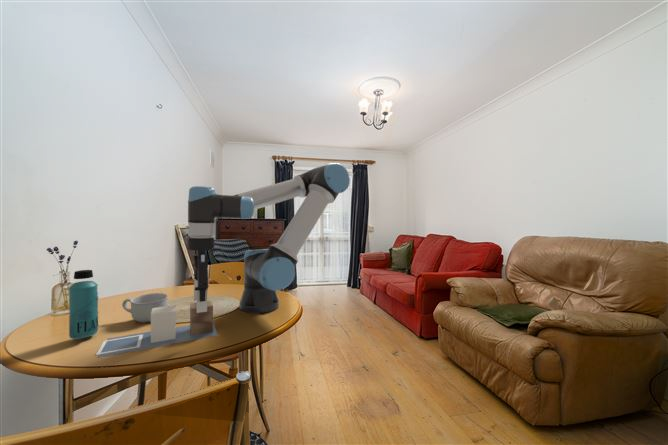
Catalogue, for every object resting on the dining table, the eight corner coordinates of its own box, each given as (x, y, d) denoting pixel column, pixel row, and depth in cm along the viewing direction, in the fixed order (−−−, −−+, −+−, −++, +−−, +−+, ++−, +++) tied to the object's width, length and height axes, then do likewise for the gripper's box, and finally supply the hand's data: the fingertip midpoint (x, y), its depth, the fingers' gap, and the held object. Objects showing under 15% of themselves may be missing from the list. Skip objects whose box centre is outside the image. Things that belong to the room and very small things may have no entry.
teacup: (174, 315, 101) (174, 293, 101) (152, 327, 90) (152, 302, 90) (139, 313, 102) (139, 292, 102) (113, 325, 92) (112, 300, 91)
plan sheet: (212, 322, 94) (212, 321, 94) (217, 336, 83) (217, 334, 83) (105, 340, 80) (105, 338, 80) (93, 359, 69) (93, 357, 69)
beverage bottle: (73, 346, 76) (72, 273, 76) (64, 340, 80) (64, 270, 79) (102, 338, 82) (102, 269, 81) (93, 332, 85) (93, 267, 85)
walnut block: (210, 325, 91) (210, 300, 91) (212, 331, 86) (213, 305, 86) (190, 328, 88) (190, 303, 88) (191, 335, 83) (191, 308, 83)
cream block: (175, 331, 86) (175, 305, 86) (175, 338, 81) (175, 311, 81) (152, 335, 83) (152, 308, 83) (150, 343, 78) (150, 314, 78)
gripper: (186, 234, 95) (185, 296, 95) (189, 239, 74) (187, 320, 74) (210, 234, 99) (208, 294, 99) (219, 239, 77) (218, 315, 78)
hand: (199, 305), depth 86 cm, fingers open, 13 cm apart
